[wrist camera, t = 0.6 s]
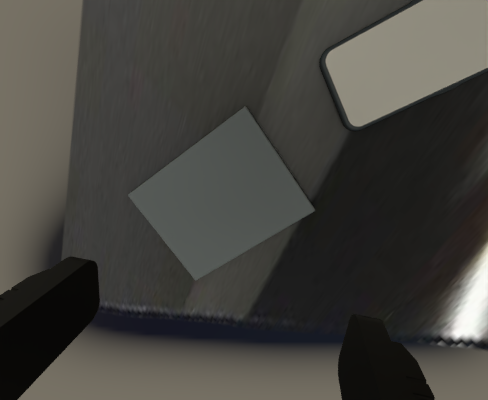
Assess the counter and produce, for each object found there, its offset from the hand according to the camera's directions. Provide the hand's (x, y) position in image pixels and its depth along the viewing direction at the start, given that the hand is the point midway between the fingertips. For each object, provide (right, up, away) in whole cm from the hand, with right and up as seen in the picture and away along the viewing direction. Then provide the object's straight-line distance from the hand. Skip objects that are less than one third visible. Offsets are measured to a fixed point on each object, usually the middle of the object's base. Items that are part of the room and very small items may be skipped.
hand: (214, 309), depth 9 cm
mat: (-2, +3, +26) cm, 27 cm away
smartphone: (+10, +14, +21) cm, 27 cm away
